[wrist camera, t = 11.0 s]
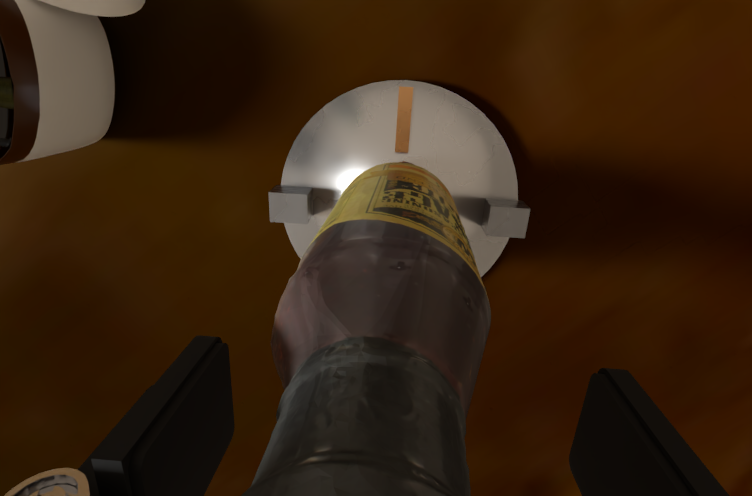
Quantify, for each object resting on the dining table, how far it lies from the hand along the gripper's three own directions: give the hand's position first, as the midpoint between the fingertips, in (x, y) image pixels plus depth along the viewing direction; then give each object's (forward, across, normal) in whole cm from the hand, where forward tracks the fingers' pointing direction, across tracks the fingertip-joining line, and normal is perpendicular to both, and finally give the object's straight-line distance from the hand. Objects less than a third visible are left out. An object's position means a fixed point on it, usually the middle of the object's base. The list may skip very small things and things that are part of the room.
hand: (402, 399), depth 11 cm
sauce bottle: (+14, +1, -1) cm, 14 cm away
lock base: (+15, 0, -2) cm, 15 cm away
